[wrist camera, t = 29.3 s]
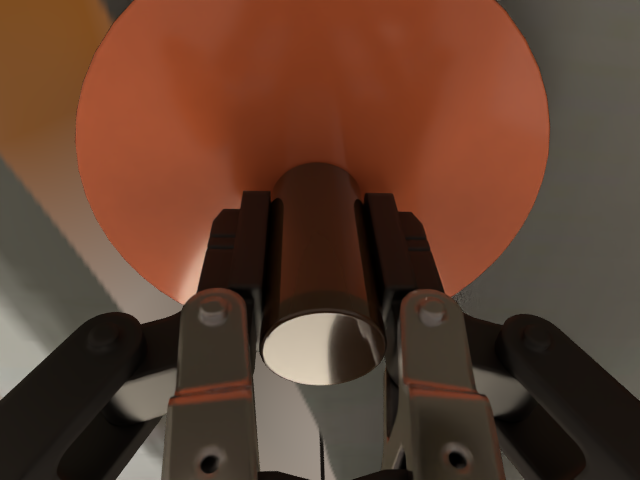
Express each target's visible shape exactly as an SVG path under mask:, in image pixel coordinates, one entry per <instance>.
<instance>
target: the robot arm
mask: <svg viewBox="0 0 640 480" xmlns="http://www.w3.org/2000/svg"><path fill="white" fill-rule="evenodd" d="M363 207H364V212H365V218H366V224H367V229H368V235H369V241H370V246H371V252H372V257H373V263H374V269H375V274H376V280H377V286H378V291H379V297H380V303H381V308H382V314H383V320H384V325H385V331H386V337H387V349H386V352H385V360H386V367H385V371H384V377H383V430H384V443H383V458H382V466H381V471H379V472H375V473H372V474H369V475H366V476H362V477H359V478H356V479H353V480H506V478H505V473H504V468H503V462H502V457H501V452H500V449H501V450H502V452H503V453H504V454H505V455H506V457H507V458H508V459H509V460H510V461H511V463H512V464H513V465H514V466H515V468H516V469H517V470H518V471H519V473H520V474H521V475H522V476H523V478H524V479H525V480H640V401H639V400H638V399H637V398H636V397H635V396H634V395H632V394H631V393H630V392H629V391H628V390H627V389H626V388H625V387H623V386H622V385H621V384H620V383H619V382H618V381H617V380H616V379H615V378H613V377H612V376H611V375H610V374H609V373H608V372H607V371H606V370H604V369H603V368H602V367H601V366H600V365H599V364H598V363H597V362H596V361H594V360H593V359H592V358H591V357H590V356H589V355H588V354H587V353H585V352H584V351H583V350H582V349H581V348H580V347H579V346H578V345H577V344H575V343H574V342H573V341H572V340H571V339H570V338H569V337H568V336H566V335H565V334H564V333H563V332H562V331H561V330H560V329H559V328H557V327H556V326H555V325H554V324H552V323H551V322H549V321H547V320H545V319H543V318H541V317H538V316H534V315H529V314H519V315H514V316H512V317H510V318H508V319H507V320H506V321H505V323H504V324H503V325H499V324H495V323H491V322H488V321H484V320H480V319H477V318H474V317H471V316H469V315H467V314H465V313H463V312H462V309H461V307H460V306H459V305H458V303H457V302H456V301H455V300H454V299H453V298H451V297H450V296H448V295H447V294H445V292H444V289H443V285H442V282H441V279H440V276H439V273H438V270H437V267H436V264H435V261H434V258H433V255H432V252H431V251H430V249H431V248H430V245H429V242H428V240H427V236H426V233H425V230H424V227H423V224H422V223H421V222H420V221H419V220H418V218H417V217H416V216H415V215H414V214H413V213H412V212H401V211H398V210H397V206H396V202H395V199H394V195H393V194H392V193H365V196H364V202H363ZM270 211H271V193H270V191H243V194H242V200H241V206H240V209H223V210H222V211H221V212H220V213H219V214H218V216H217V217H216V218H215V219H214V220H213V223H212V227H211V231H210V238H209V240H208V244H207V249H206V253H205V258H204V262H203V266H202V271H201V275H200V280H199V284H198V288H197V292H196V294H195V295H193V296H192V297H190V298H189V299H188V300H187V301H186V303H185V304H184V306H183V308H182V310H181V311H180V312H178V313H176V314H174V315H172V316H170V317H166V318H163V319H160V320H156V321H152V322H148V323H144V324H140V323H139V321H138V320H137V319H136V318H135V317H133V316H131V315H129V314H126V313H121V312H111V313H105V314H101V315H98V316H96V317H94V318H92V319H90V320H88V321H86V322H85V323H84V324H82V325H81V326H80V327H79V328H78V329H77V330H76V331H74V332H73V333H72V334H71V335H70V336H69V337H68V338H67V339H66V340H65V341H64V342H63V343H62V344H60V345H59V346H58V347H57V348H56V349H55V350H54V351H53V352H52V353H51V354H50V355H49V356H48V357H47V358H45V359H44V360H43V361H42V362H41V363H40V364H39V365H38V366H37V367H36V368H35V369H34V370H33V371H32V372H30V373H29V374H28V375H27V376H26V377H25V378H24V379H23V380H22V381H21V382H20V383H19V384H18V385H16V386H15V387H14V388H13V389H12V390H11V391H10V392H9V393H8V394H7V395H6V396H5V397H4V398H3V399H1V400H0V480H116V478H117V477H118V476H119V474H120V473H121V472H122V470H123V469H124V468H125V466H126V465H127V464H128V462H129V461H130V460H131V458H132V457H133V456H134V454H135V453H136V452H137V450H138V449H139V448H140V446H141V445H142V444H143V442H144V441H145V440H146V438H147V437H148V436H149V434H150V433H151V432H152V430H153V429H154V428H155V426H156V425H157V424H158V422H159V421H160V420H161V418H162V416H163V415H165V414H167V415H166V427H165V439H164V451H163V464H162V476H161V480H308V479H305V478H301V477H297V476H293V475H290V474H286V473H282V472H278V471H264V472H260V465H259V452H258V442H257V441H258V439H257V425H256V413H255V398H254V384H253V373H254V369H255V358H256V352H259V340H260V328H261V315H262V310H263V300H264V287H265V275H266V262H267V249H268V236H269V223H270ZM319 437H320V470H321V480H325V469H324V442H323V439H322V437H321V433H320V432H319Z"/></svg>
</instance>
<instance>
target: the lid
mask: <svg viewBox="0 0 640 480" xmlns="http://www.w3.org/2000/svg"><path fill="white" fill-rule="evenodd" d="M549 136H550V120H549V110H548V101H547V94H546V91H545V87H544V84H543V80H542V76H541V73H540V69H539V66H538V64H537V62H536V60H535V58H534V56H533V54H532V51H531V49H530V47H529V45H528V43H527V41H526V39H525V37H524V36H523V34H522V33H521V32H520V30H519V29H518V27H517V26H516V24H515V23H514V22H513V20H512V19H511V17H510V16H509V14H508V13H507V12H506V10H505V9H504V8H503V7H502V6H501V5H500V4H499V3H498V2H497V1H496V0H133V1H132V2H131V3H130V5H129V6H128V7H127V8H126V9H125V10H124V11H123V12H122V14H121V15H120V16H119V17H118V18H117V19H116V20H115V21H114V22H113V24H112V26H111V27H110V29H109V30H108V32H107V34H106V35H105V37H104V39H103V40H102V42H101V43H100V45H99V47H98V48H97V50H96V51H95V54H94V56H93V59H92V61H91V63H90V66H89V68H88V71H87V73H86V76H85V78H84V81H83V84H82V89H81V94H80V98H79V103H78V107H77V113H76V134H75V143H76V152H77V161H78V169H79V173H80V177H81V180H82V184H83V187H84V191H85V195H86V197H87V200H88V202H89V204H90V206H91V209H92V211H93V213H94V215H95V217H96V220H97V221H98V223H99V225H100V226H101V228H102V229H103V231H104V233H105V234H106V236H107V238H108V239H109V241H110V242H111V243H112V244H113V246H114V247H115V248H116V249H117V251H118V252H119V253H120V254H121V256H122V257H123V258H124V259H125V260H126V261H127V262H128V263H129V264H130V265H131V266H132V267H133V268H134V269H135V270H136V271H137V272H138V273H139V274H140V275H141V276H142V277H143V278H144V279H146V280H147V281H148V282H149V283H151V284H152V285H153V286H154V287H156V288H157V289H158V290H160V291H161V292H163V293H164V294H166V295H167V296H169V297H170V298H172V299H174V300H176V301H177V302H178V303H180V304H182V305H184V304H185V303H186V301H187V300H188V299H189V298H190V297H192V296H193V295H195V294H196V292H197V288H198V284H199V280H200V275H201V271H202V266H203V262H204V258H205V253H206V249H207V244H208V240H209V238H210V231H211V227H212V223H213V220H214V219H215V218H216V217H217V216H218V214H219V213H220V212H221V211H222V210H223V209H240V206H241V200H242V194H243V191H270V193H271V211H270V223H269V236H268V249H267V262H266V275H265V287H264V300H263V310H262V315H261V328H260V340H259V352H260V355H261V358H262V360H263V362H264V363H265V365H266V366H267V367H268V368H269V369H270V370H271V371H272V372H273V373H275V374H277V375H278V376H280V377H282V378H284V379H286V380H289V381H292V382H296V383H300V384H306V385H334V384H340V383H344V382H348V381H352V380H354V379H357V378H359V377H361V376H364V375H365V374H367V373H369V372H370V371H372V370H373V369H374V368H375V367H376V366H377V365H378V364H379V363H380V362H381V361H382V359H383V357H384V355H385V352H386V349H387V337H386V331H385V325H384V320H383V314H382V308H381V303H380V297H379V291H378V286H377V280H376V274H375V269H374V263H373V257H372V252H371V246H370V241H369V235H368V229H367V224H366V218H365V212H364V207H363V202H364V196H365V193H392V194H393V195H394V199H395V202H396V206H397V210H398V211H401V212H412V213H413V214H414V215H415V216H416V217H417V218H418V220H419V221H420V222H421V223H422V224H423V227H424V230H425V233H426V236H427V240H428V242H429V245H430V248H431V249H430V251H431V252H432V255H433V258H434V261H435V264H436V267H437V270H438V273H439V276H440V279H441V282H442V285H443V289H444V292H445V294H447V295H448V296H450V297H451V296H453V295H455V294H456V293H458V292H459V291H461V290H462V289H463V288H465V287H466V286H467V285H469V284H470V283H471V282H473V281H474V280H475V279H477V278H478V277H479V276H480V275H481V274H482V273H483V272H484V271H485V270H486V269H487V268H489V267H490V266H491V265H492V264H493V263H494V262H495V261H496V259H497V258H498V257H499V256H500V255H501V254H502V253H503V252H504V250H505V249H506V248H507V247H508V246H509V245H510V243H511V242H512V240H513V239H514V237H515V236H516V234H517V233H518V232H519V230H520V229H521V227H522V226H523V224H524V222H525V220H526V218H527V216H528V214H529V213H530V211H531V209H532V207H533V205H534V203H535V200H536V197H537V195H538V192H539V189H540V186H541V184H542V181H543V177H544V173H545V168H546V163H547V158H548V154H549Z"/></svg>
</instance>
